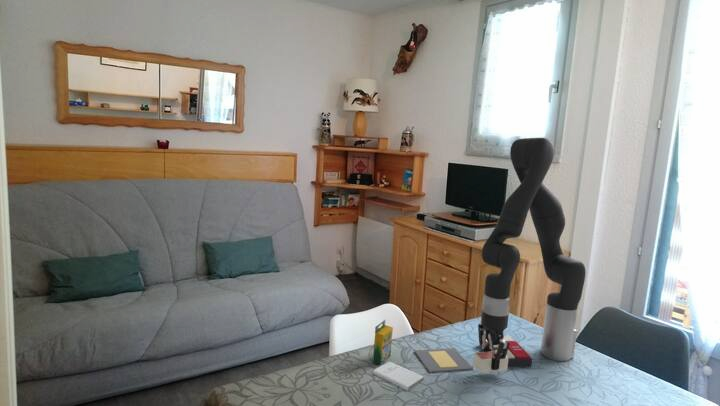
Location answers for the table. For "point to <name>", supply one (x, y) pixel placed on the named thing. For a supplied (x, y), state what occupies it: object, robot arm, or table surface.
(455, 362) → the rubber mat
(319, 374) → the table surface
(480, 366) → the card deck
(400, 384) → the external hard drive
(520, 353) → the calculator
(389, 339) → the crayon box
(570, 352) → the robot arm
